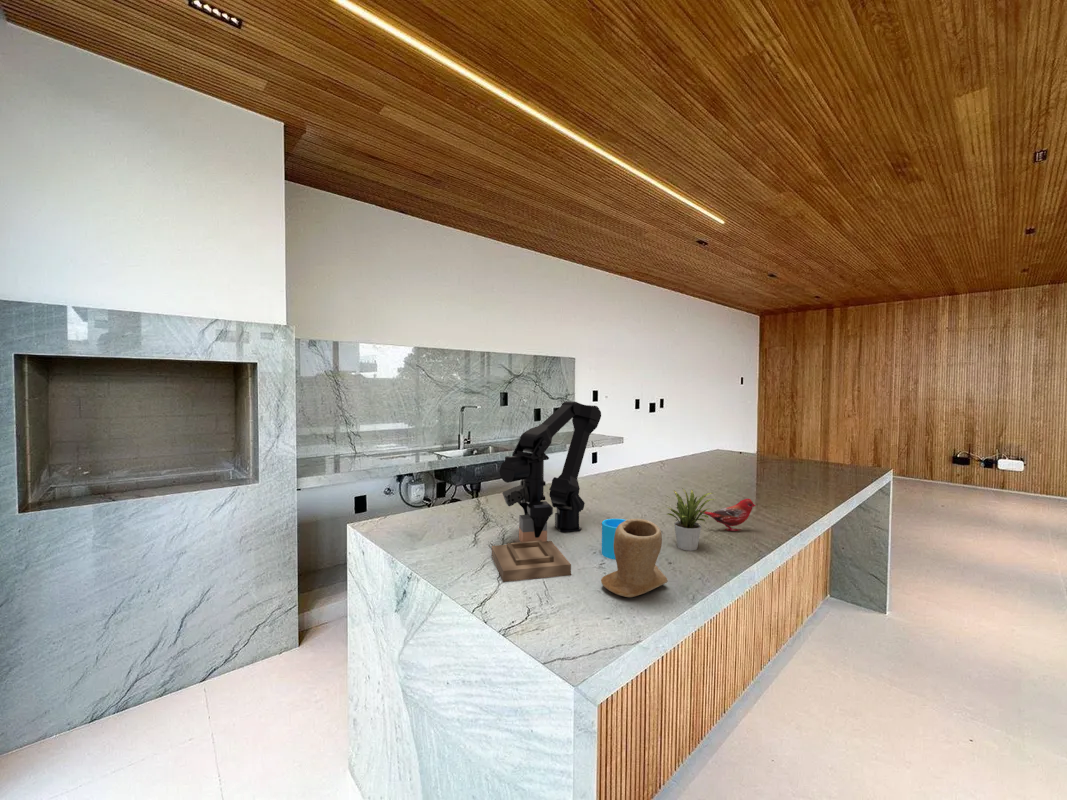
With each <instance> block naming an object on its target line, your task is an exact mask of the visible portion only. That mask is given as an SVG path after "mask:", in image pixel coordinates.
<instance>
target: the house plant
mask: <svg viewBox="0 0 1067 800" xmlns="http://www.w3.org/2000/svg"><path fill="white" fill-rule="evenodd" d="M681 489H682V490H683V492H684V494H685V497H686V503H685V504H684V501H683V498H682V496H681V495H680V494H679V493H678V492H677V491H675V490H674V489H673V490H672V491H673V492H674V494H675V496H676V499H677V502H676V507H675V508H676V509H677V510H675V509H673V508H671V507H666V508H667V509H668V510H670V511H671V512H672V513H674V514H672V513H671V512H669V513H667V515H668V516H672V517H674V518H675V519H676V520H677V521H675V522H674V523H673V526H674V532H675V539H676V546H677V548H678V549H681V550H684V551H691V552H692V551H696V550H698V545H699V541H700V537H701V532H702V531H701V530H702V525H701V524H700V523H698V522H697V521H703V522H705V523H707V522H706V520H705V519H704V518H706V519H709V515H706V514H703V513H705V511H706V512H707V510H711V509H712V508H709V507H708V508H705V509H703V510H702V508H703V507H704V506H705V505H706V504H707V503H708V502H709V501H716V499H714V498H711V499H710V498H709V499H706V500H704V498H706V497H707V496H709V495H711V494H713V492H707V493H704V494H703V495H702V496H698V495H697V496H696V497H695V493H694V491H693V489H691V490H690V492H689V494H690V496H689V495H688V492H687V491H686V490H685V488H683V487H681ZM664 496H666V497H668V498H669V495H666V494H664ZM697 498H698V499H697ZM702 500H704V502H703V503H701V502H702ZM700 503H701V504H700ZM699 505H700V506H699ZM698 506H699V507H698ZM700 511H702V512H701V513H700ZM700 517H704V518H700ZM678 518H679V519H678Z"/></svg>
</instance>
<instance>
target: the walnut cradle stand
mask: <svg viewBox="0 0 1067 800" xmlns="http://www.w3.org/2000/svg"><path fill="white" fill-rule="evenodd" d="M491 557H492V560H493V561H494V564H495V566H496V569H497V571H498V573H499V576H500V578H501V580H502V582H503V583H505V582H514V581H515V582H516V581H526V580H534V579H535V580H536V579H546V578H553V577H555V578H556V577H563V576H571V575H572V564H571V563H570V561H569V560H568V559H567V558H566V557H565V556H564V554H563V552H561V550H560V549H559V548H558V547H557V546H556V545H555V544H554V542H553V541H552V540H547V541H545V542H542V541H541V540H540V541H528V542H520V541H519V542H517V541H516V542H507V543H506V544H499V545H491Z"/></svg>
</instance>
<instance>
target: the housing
mask: <svg viewBox="0 0 1067 800" xmlns="http://www.w3.org/2000/svg"><path fill="white" fill-rule="evenodd" d="M518 521H519V525H518V540H519V542H528V541H540V540H541V541H542V542H545V541H548V521H547V522H546V524H545V526H544V528H543V530H542V532H541V534H540V537H538V538H536V537H535V534H534V528H533V521H532V519H531V518H530V517H529V516H528V515H524V514H519V520H518Z"/></svg>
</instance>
